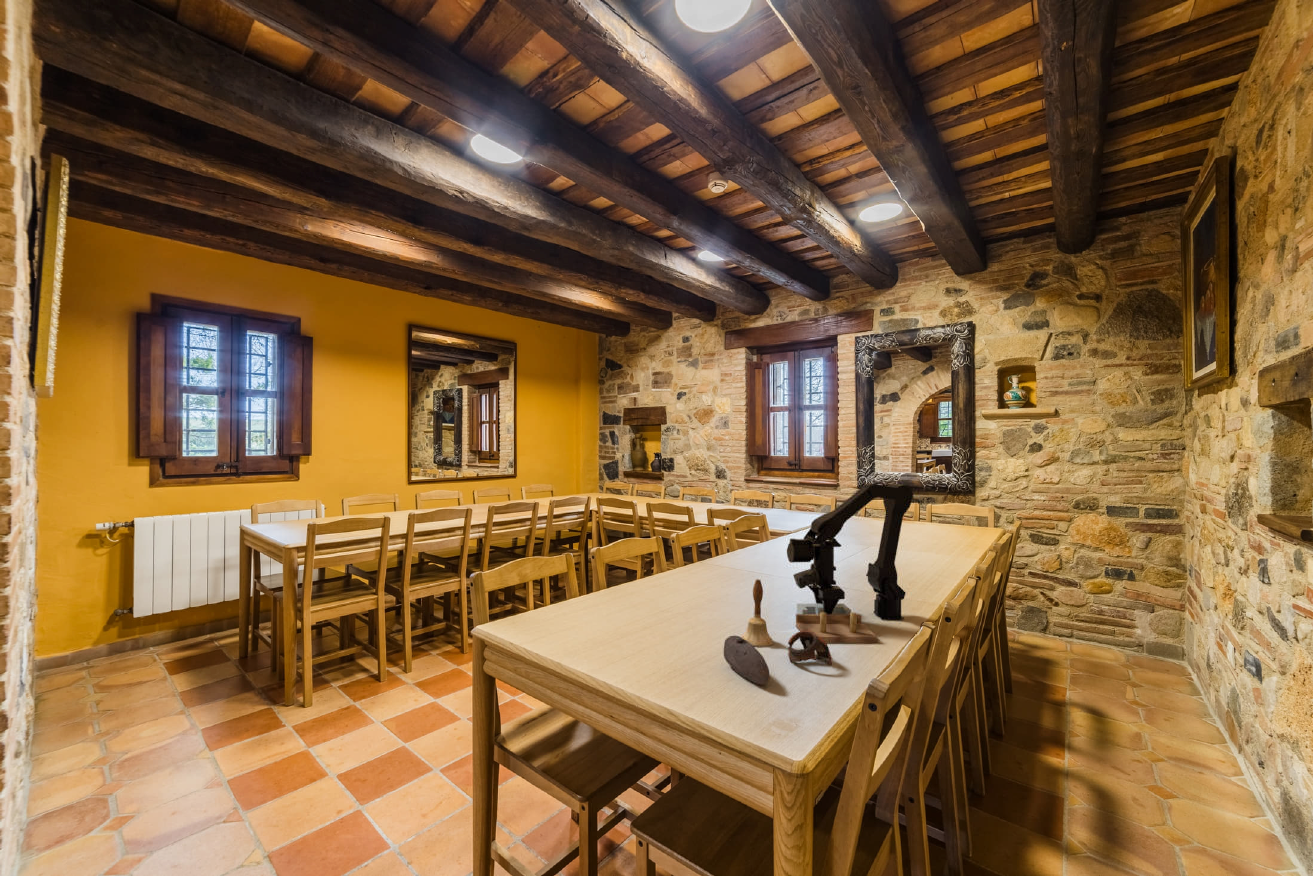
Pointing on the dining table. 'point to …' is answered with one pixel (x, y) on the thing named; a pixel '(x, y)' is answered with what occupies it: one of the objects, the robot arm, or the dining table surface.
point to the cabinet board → (836, 627)
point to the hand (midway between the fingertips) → (823, 615)
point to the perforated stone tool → (746, 660)
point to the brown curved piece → (808, 647)
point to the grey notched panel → (821, 609)
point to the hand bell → (757, 621)
